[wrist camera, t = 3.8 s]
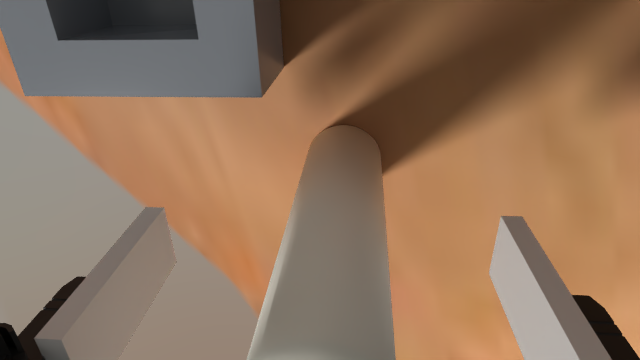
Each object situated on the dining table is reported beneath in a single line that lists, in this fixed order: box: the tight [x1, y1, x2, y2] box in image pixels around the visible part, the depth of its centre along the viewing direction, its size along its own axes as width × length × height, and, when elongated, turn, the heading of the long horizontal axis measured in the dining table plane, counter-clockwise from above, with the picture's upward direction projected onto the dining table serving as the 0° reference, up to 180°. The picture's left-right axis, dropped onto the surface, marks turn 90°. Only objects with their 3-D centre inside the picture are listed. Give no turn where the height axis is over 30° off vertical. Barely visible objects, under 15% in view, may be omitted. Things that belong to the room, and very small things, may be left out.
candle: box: [247, 125, 395, 360], centre depth 16 cm, size 4×4×15 cm
